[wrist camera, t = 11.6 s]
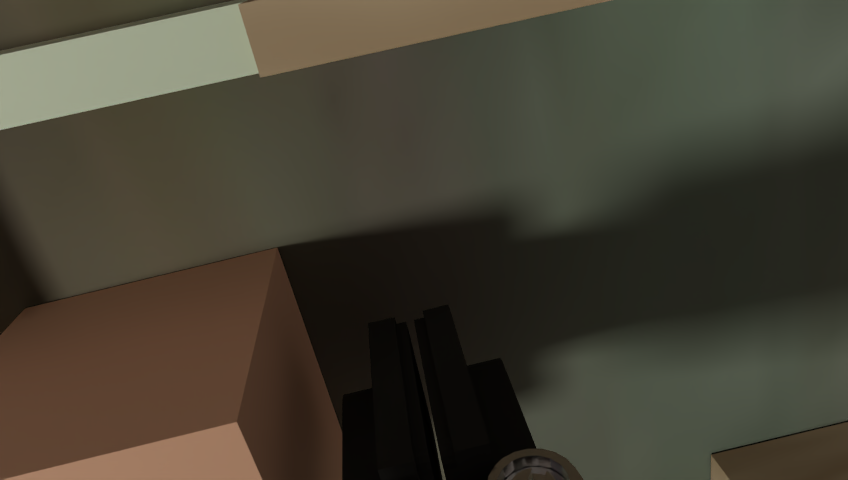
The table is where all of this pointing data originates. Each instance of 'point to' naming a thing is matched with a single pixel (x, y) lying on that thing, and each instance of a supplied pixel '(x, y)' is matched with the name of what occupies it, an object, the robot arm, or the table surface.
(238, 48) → the dock
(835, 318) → the table surface
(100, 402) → the block
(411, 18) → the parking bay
